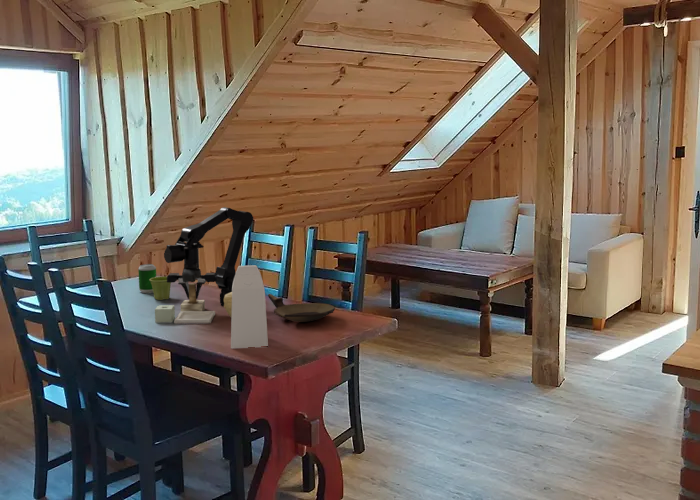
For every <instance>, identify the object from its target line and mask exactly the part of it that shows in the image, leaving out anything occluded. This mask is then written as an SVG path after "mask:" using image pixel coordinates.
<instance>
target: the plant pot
mask: <svg viewBox="0 0 700 500" xmlns="http://www.w3.org/2000/svg"><path fill="white" fill-rule="evenodd" d="M150 281H151V284H152V288H153V293H152V294H153V297H154V299H155V300H157V301H162V300H168V299H170V296H171V295H170V294H171V287H172V286H171V285H172V283H168V282H167V276H156V277H155V278H151V279H150Z"/></svg>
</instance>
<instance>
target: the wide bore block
mask: <svg viewBox="0 0 700 500" xmlns="http://www.w3.org/2000/svg"><path fill="white" fill-rule="evenodd" d="M196 300H197V304H189V299H185V300H183V301H182V302H181V304H180V312H181V311H205V309H206V307H205V306H206V303H205V302H206V300H205V299H196Z"/></svg>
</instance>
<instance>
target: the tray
mask: <svg viewBox="0 0 700 500" xmlns="http://www.w3.org/2000/svg"><path fill="white" fill-rule="evenodd" d="M215 316H216V311H215V310H204V311H181V310H180V312H179V313H178V314H177V316H175V319H174V320H173V321H174V325H182V324H183V325H187V324H188V325H191V324H192V325H194V324H196V325H199V324H202V325H203V324H205V325H206V324H212V321H213V320H214V318H215Z"/></svg>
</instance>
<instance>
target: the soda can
mask: <svg viewBox="0 0 700 500" xmlns="http://www.w3.org/2000/svg"><path fill="white" fill-rule="evenodd" d="M155 277H157V266H155V265H154V264H151V263H145V264H141V265H139V267H138V287H139V288H138V289H139V290H138V291H140V292H141V293H143V294H154V293H153V288H152V284H151V281H150V279H151V278H155Z"/></svg>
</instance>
